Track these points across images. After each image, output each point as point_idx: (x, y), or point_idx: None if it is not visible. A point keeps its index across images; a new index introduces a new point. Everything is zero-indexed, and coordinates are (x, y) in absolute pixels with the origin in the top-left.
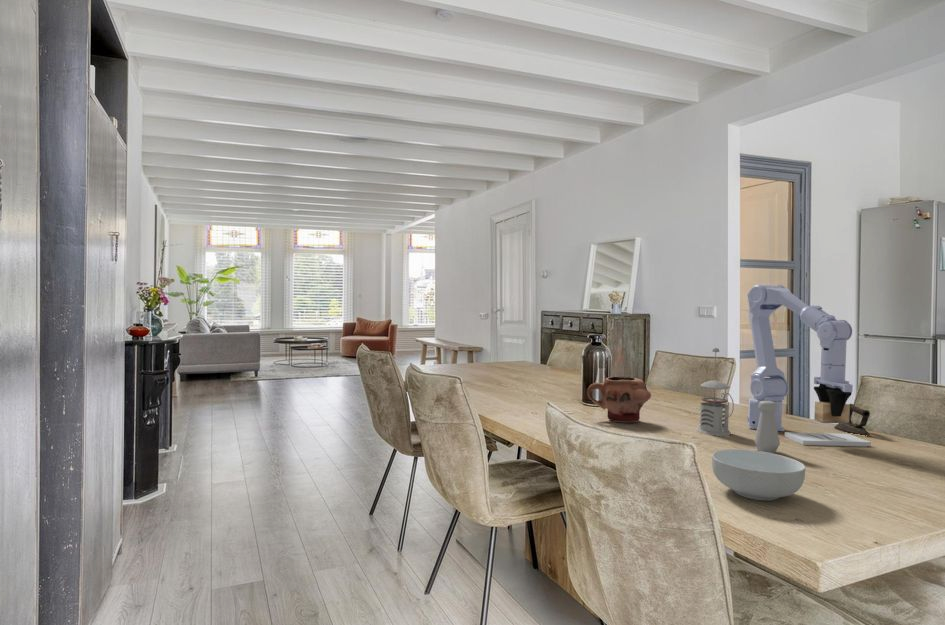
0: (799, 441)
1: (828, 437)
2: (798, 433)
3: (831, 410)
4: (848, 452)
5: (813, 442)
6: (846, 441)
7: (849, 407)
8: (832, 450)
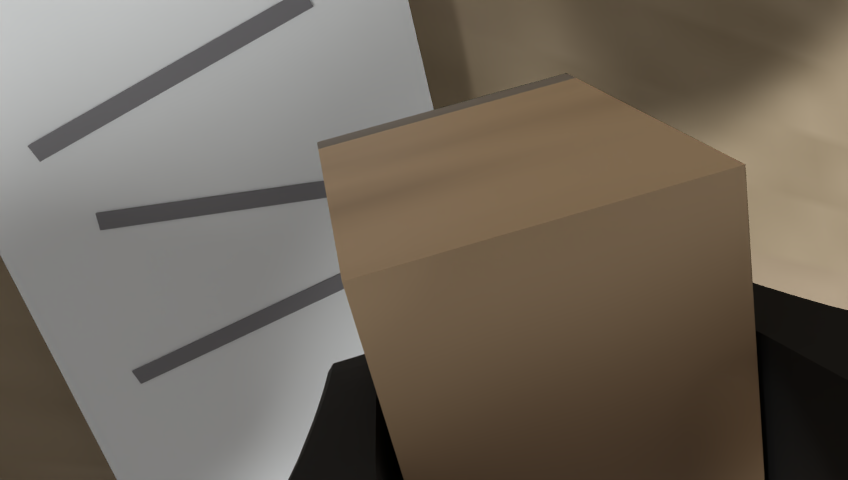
0: None
1: (244, 185)
2: (156, 450)
3: None
4: (704, 93)
5: None
6: (411, 30)
7: (709, 151)
8: None
